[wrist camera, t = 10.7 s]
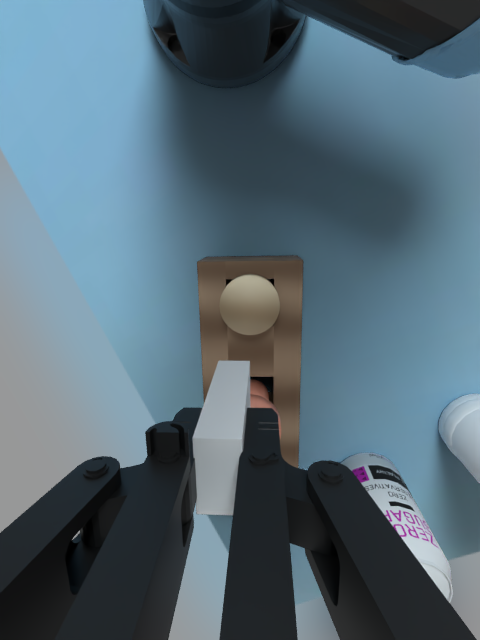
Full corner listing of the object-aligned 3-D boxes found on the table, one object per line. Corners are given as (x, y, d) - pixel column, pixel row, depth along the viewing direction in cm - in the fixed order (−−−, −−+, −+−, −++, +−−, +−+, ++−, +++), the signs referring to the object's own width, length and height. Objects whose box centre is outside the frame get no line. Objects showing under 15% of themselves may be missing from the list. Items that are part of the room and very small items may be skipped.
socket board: (206, 256, 40) (197, 261, 34) (297, 255, 39) (303, 260, 33) (215, 473, 47) (209, 508, 41) (292, 475, 46) (297, 511, 40)
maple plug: (226, 268, 39) (218, 276, 33) (277, 267, 39) (280, 275, 32) (227, 317, 41) (220, 335, 34) (277, 317, 40) (279, 335, 34)
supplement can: (338, 508, 47) (371, 634, 33) (326, 454, 45) (355, 562, 31) (401, 499, 46) (464, 623, 32) (392, 443, 44) (454, 549, 30)
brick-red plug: (224, 369, 37) (215, 401, 30) (278, 370, 37) (281, 402, 30) (225, 418, 39) (217, 459, 32) (278, 419, 38) (281, 460, 31)
